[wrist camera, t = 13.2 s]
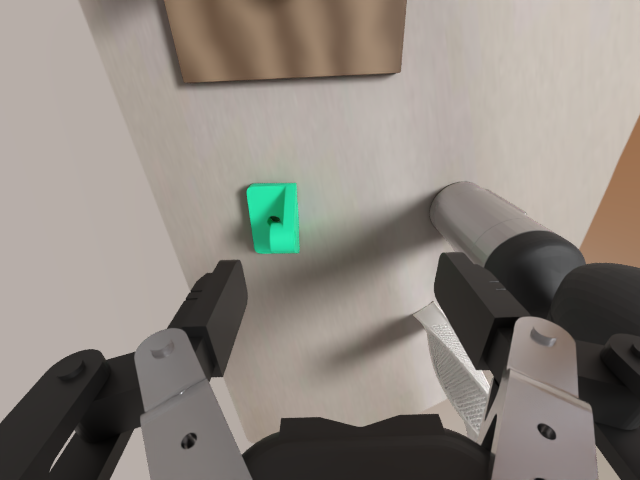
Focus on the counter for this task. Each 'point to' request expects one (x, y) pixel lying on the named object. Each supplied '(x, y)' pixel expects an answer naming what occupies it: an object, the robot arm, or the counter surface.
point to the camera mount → (274, 203)
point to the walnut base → (286, 38)
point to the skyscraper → (455, 369)
